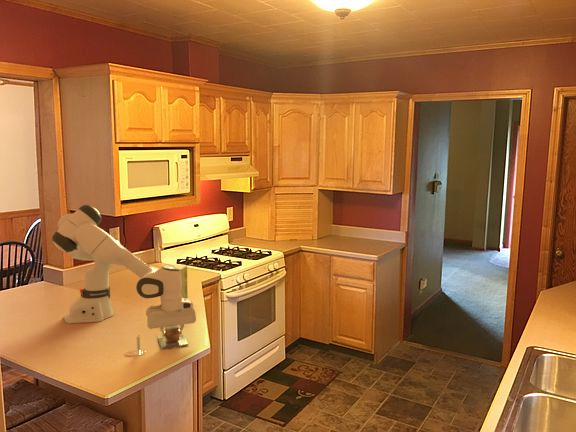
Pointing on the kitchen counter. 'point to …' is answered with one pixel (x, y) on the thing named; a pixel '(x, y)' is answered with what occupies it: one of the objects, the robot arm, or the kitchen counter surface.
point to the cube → (172, 333)
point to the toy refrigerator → (183, 279)
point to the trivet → (172, 342)
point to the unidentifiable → (135, 352)
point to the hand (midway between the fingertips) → (172, 335)
